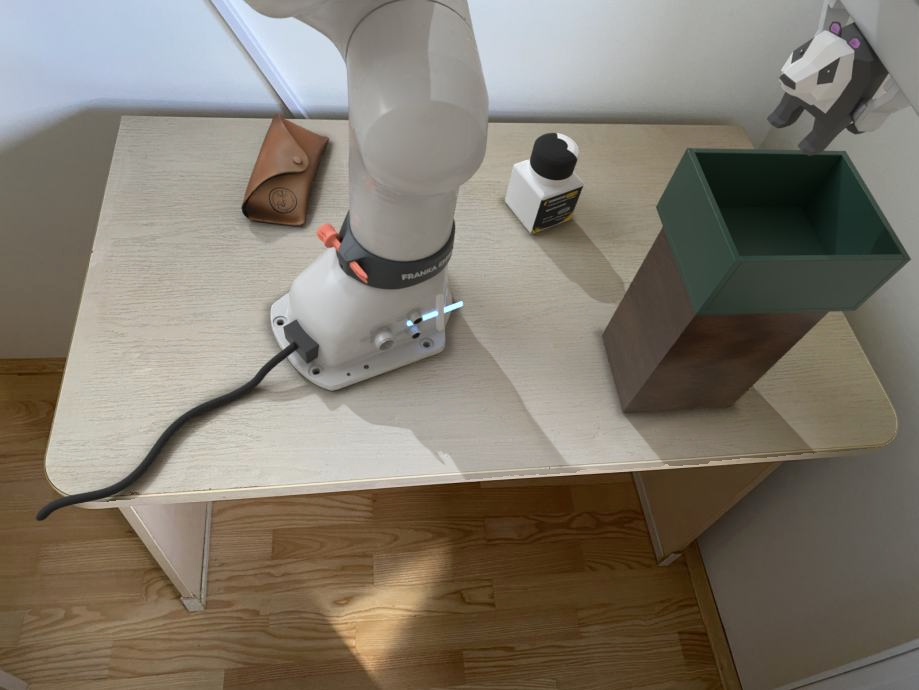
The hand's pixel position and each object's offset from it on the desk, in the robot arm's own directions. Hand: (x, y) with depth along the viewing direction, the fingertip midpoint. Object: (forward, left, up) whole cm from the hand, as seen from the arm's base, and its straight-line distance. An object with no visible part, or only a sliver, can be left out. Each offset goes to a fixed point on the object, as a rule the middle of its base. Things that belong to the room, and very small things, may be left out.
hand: (839, 89), depth 51 cm
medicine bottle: (+4, +26, -40) cm, 48 cm away
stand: (0, -3, -39) cm, 39 cm away
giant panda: (0, 0, -4) cm, 4 cm away
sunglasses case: (-23, +50, -40) cm, 67 cm away
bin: (0, -3, -17) cm, 17 cm away
